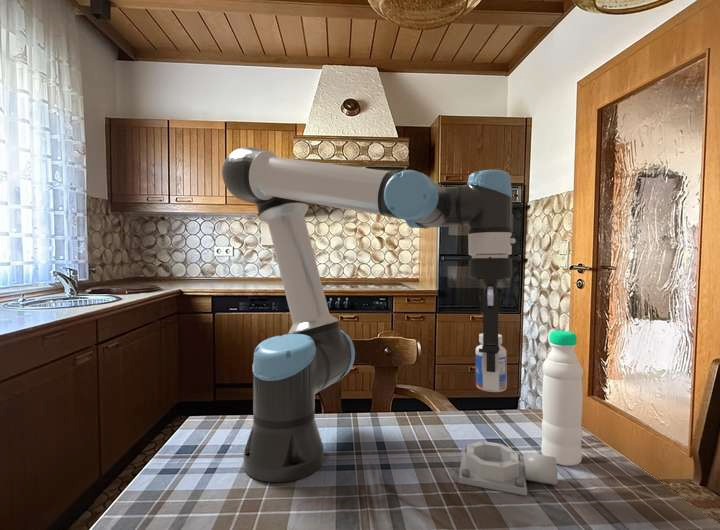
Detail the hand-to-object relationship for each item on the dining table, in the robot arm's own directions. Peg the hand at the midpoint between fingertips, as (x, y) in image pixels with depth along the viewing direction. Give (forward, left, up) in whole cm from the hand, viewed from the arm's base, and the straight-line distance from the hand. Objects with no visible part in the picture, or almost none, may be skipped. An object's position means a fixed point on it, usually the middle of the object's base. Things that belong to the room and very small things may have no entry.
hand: (490, 383), depth 70 cm
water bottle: (+13, +10, -17) cm, 24 cm away
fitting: (+3, 0, -16) cm, 17 cm away
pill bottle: (0, 0, -1) cm, 1 cm away
